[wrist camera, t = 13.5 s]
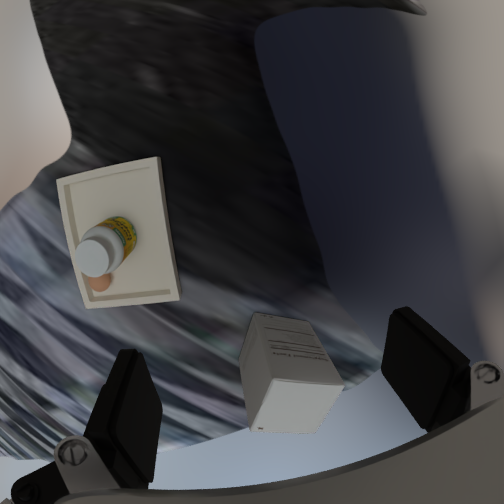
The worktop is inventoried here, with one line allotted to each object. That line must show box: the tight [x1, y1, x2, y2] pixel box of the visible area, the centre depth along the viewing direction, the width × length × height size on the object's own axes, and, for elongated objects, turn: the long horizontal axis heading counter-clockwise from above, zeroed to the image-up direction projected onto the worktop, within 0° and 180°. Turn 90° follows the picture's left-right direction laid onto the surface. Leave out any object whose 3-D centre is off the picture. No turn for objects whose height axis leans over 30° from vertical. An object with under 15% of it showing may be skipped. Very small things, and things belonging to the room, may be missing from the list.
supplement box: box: [239, 312, 345, 434], centre depth 36 cm, size 9×9×15 cm
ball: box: [88, 273, 111, 292], centre depth 34 cm, size 3×3×3 cm
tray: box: [57, 157, 182, 309], centre depth 34 cm, size 18×14×2 cm
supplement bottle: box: [75, 216, 137, 277], centre depth 30 cm, size 5×5×10 cm
